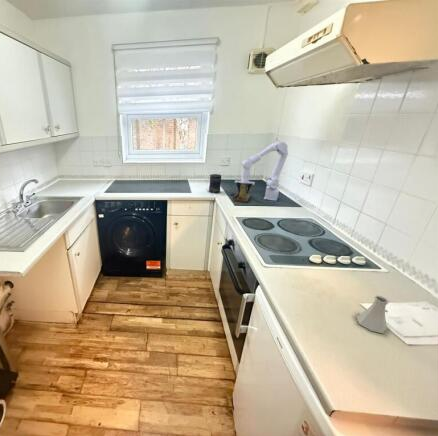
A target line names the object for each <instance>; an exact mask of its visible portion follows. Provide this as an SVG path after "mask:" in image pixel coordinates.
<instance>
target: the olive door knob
mask: <svg viewBox="0 0 438 436" xmlns="http://www.w3.org/2000/svg"><path fill="white" fill-rule="evenodd" d="M248 185H249V184H245V183H241V185H240V194H239V197H242V198H245V197H247V195H248V193H247V190H248Z"/></svg>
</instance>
